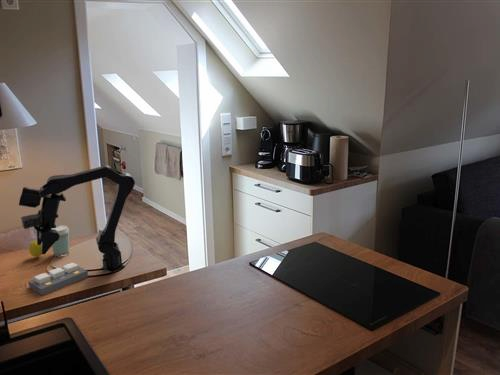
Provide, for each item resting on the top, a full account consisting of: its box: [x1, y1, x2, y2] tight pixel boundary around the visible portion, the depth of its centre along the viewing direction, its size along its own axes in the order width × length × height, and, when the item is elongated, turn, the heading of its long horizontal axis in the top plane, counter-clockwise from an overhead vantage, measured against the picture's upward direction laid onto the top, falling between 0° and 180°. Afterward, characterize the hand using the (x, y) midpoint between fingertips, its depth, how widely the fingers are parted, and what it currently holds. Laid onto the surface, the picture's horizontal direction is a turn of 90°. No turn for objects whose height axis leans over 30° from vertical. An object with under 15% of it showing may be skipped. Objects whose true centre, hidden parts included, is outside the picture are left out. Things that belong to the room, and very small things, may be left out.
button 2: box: [62, 262, 79, 274], centre depth 168 cm, size 4×4×2 cm
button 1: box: [33, 272, 51, 284], centre depth 160 cm, size 4×4×2 cm
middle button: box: [48, 267, 65, 279], centre depth 164 cm, size 4×4×2 cm
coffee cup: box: [51, 224, 70, 257], centre depth 188 cm, size 8×8×12 cm
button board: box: [28, 265, 89, 296], centre depth 164 cm, size 18×10×3 cm, turn 140°
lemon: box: [28, 239, 43, 258], centre depth 186 cm, size 6×6×8 cm
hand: (40, 249), depth 163 cm, fingers open, 9 cm apart
